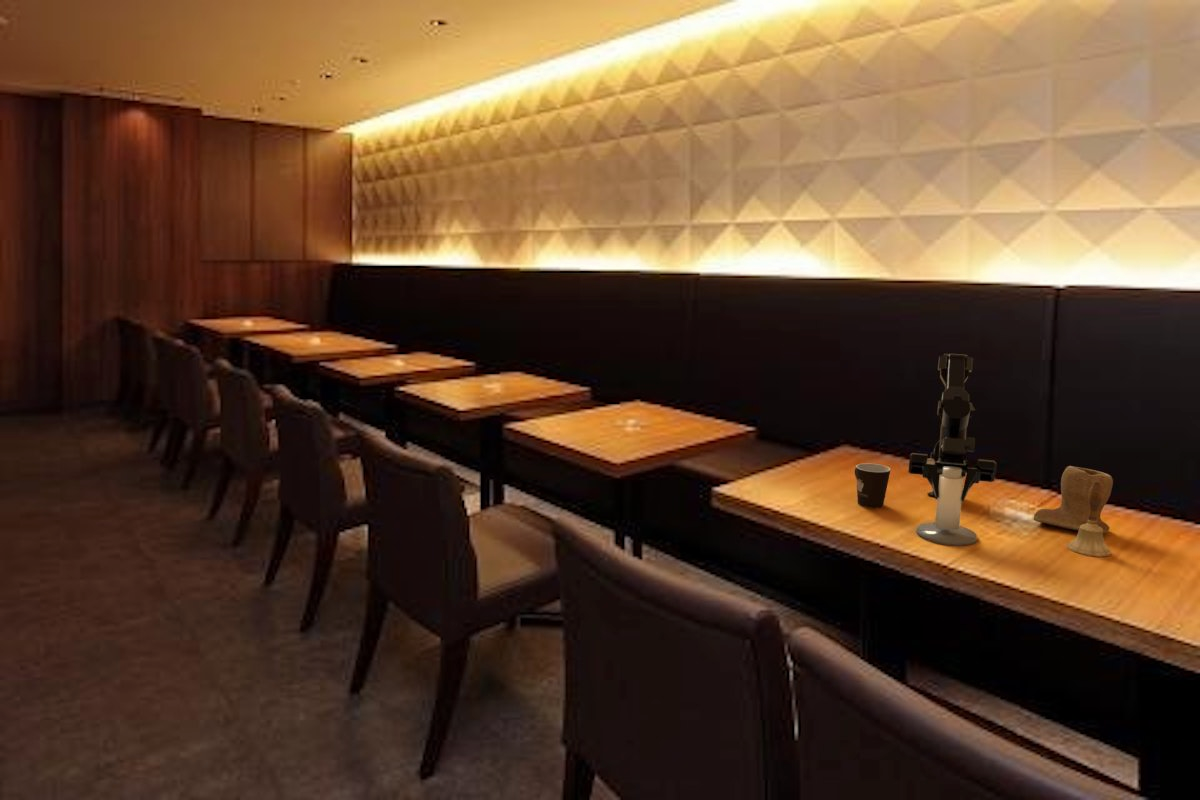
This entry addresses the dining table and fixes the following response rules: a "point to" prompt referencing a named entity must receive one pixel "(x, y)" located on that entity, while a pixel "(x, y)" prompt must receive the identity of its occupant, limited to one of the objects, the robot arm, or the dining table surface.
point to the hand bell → (1091, 528)
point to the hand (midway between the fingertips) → (949, 498)
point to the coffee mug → (871, 484)
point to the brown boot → (1077, 499)
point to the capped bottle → (949, 498)
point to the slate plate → (946, 535)
